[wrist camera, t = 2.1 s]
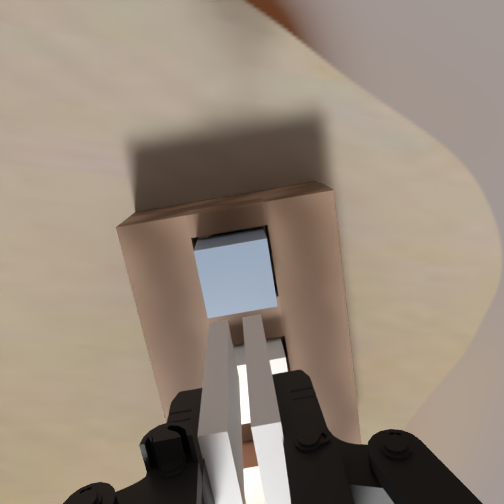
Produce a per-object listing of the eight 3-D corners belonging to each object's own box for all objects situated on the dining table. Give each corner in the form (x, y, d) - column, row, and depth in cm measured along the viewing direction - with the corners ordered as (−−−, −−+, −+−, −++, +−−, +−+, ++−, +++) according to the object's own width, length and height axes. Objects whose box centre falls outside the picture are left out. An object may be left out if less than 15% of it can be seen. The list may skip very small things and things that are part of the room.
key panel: (197, 467, 38) (191, 521, 33) (134, 212, 31) (115, 227, 26) (347, 441, 38) (366, 489, 33) (316, 181, 32) (333, 190, 26)
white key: (230, 399, 31) (230, 426, 28) (219, 346, 29) (218, 369, 27) (288, 388, 31) (294, 414, 28) (279, 336, 30) (285, 357, 27)
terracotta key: (247, 485, 33) (249, 518, 30) (238, 439, 32) (239, 469, 29) (302, 475, 33) (309, 507, 30) (294, 429, 32) (301, 458, 29)
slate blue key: (209, 300, 29) (207, 318, 26) (197, 239, 27) (193, 250, 24) (272, 289, 29) (277, 306, 26) (262, 227, 27) (267, 238, 24)
